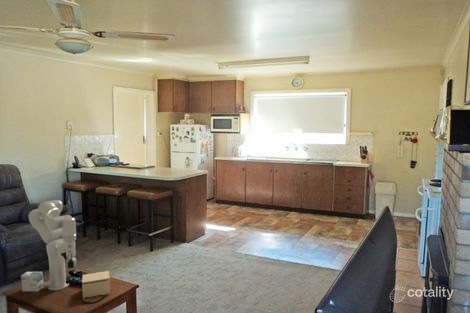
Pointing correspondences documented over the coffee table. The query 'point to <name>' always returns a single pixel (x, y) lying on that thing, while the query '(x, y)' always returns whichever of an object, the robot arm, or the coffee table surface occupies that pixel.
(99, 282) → the carton
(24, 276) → the light bulb box
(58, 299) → the coffee table surface
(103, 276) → the carton flap
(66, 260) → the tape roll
